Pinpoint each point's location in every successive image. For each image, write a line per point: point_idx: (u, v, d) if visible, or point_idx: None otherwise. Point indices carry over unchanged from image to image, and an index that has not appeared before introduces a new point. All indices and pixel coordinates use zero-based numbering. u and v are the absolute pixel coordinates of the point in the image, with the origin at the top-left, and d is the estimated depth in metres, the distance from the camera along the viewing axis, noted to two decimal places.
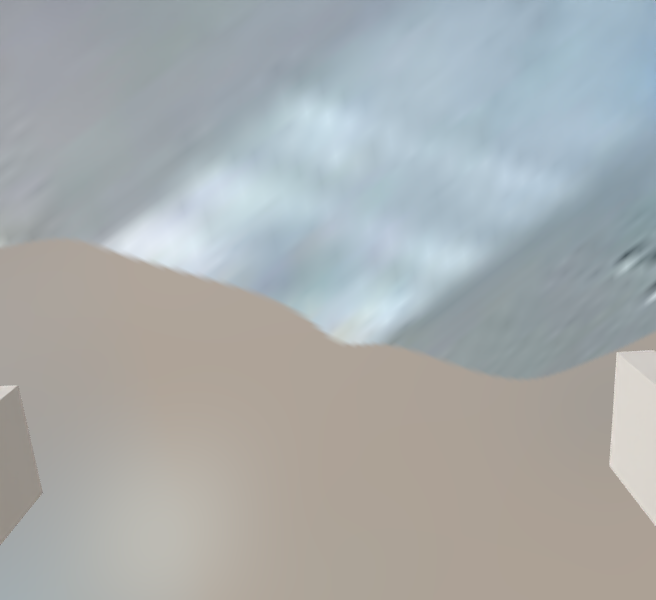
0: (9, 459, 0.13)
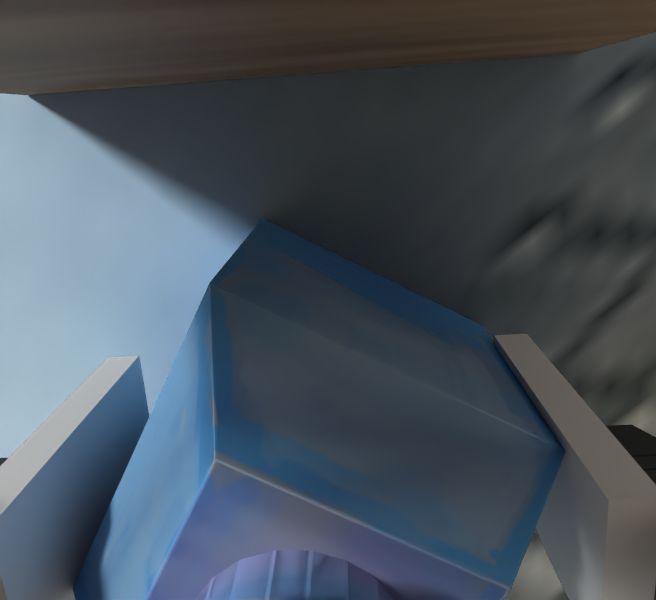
0: (135, 422, 0.14)
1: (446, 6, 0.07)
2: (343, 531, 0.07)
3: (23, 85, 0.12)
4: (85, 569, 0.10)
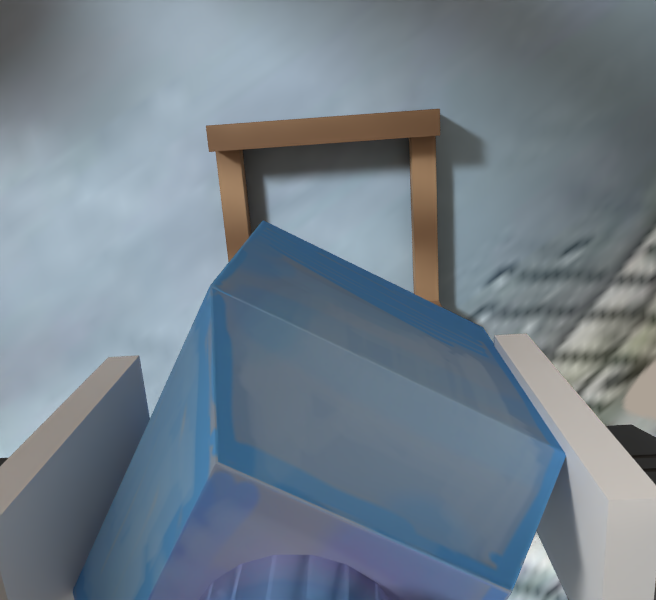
0: (135, 422, 0.14)
1: None
2: (344, 535, 0.07)
3: None
4: (85, 572, 0.10)
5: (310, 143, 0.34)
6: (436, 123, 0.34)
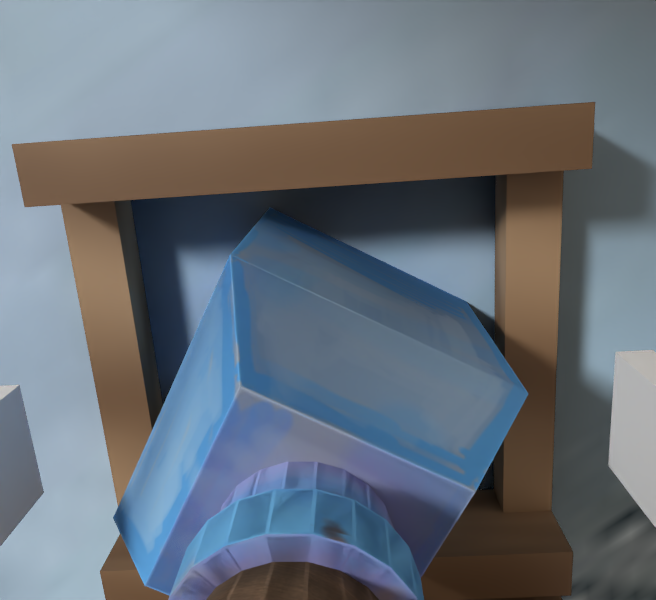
0: (10, 459, 0.13)
1: None
2: (342, 445, 0.09)
3: None
4: (125, 500, 0.12)
5: (270, 187, 0.14)
6: (584, 139, 0.13)
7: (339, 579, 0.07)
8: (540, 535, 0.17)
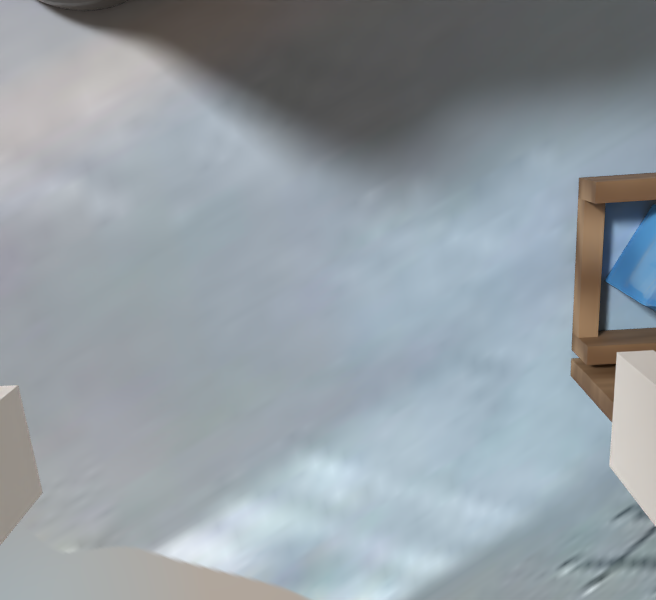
0: (9, 459, 0.13)
1: None
2: None
3: None
4: (652, 297, 0.39)
5: None
6: None
7: None
8: None
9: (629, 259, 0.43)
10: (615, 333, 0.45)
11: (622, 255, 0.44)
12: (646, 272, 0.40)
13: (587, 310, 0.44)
